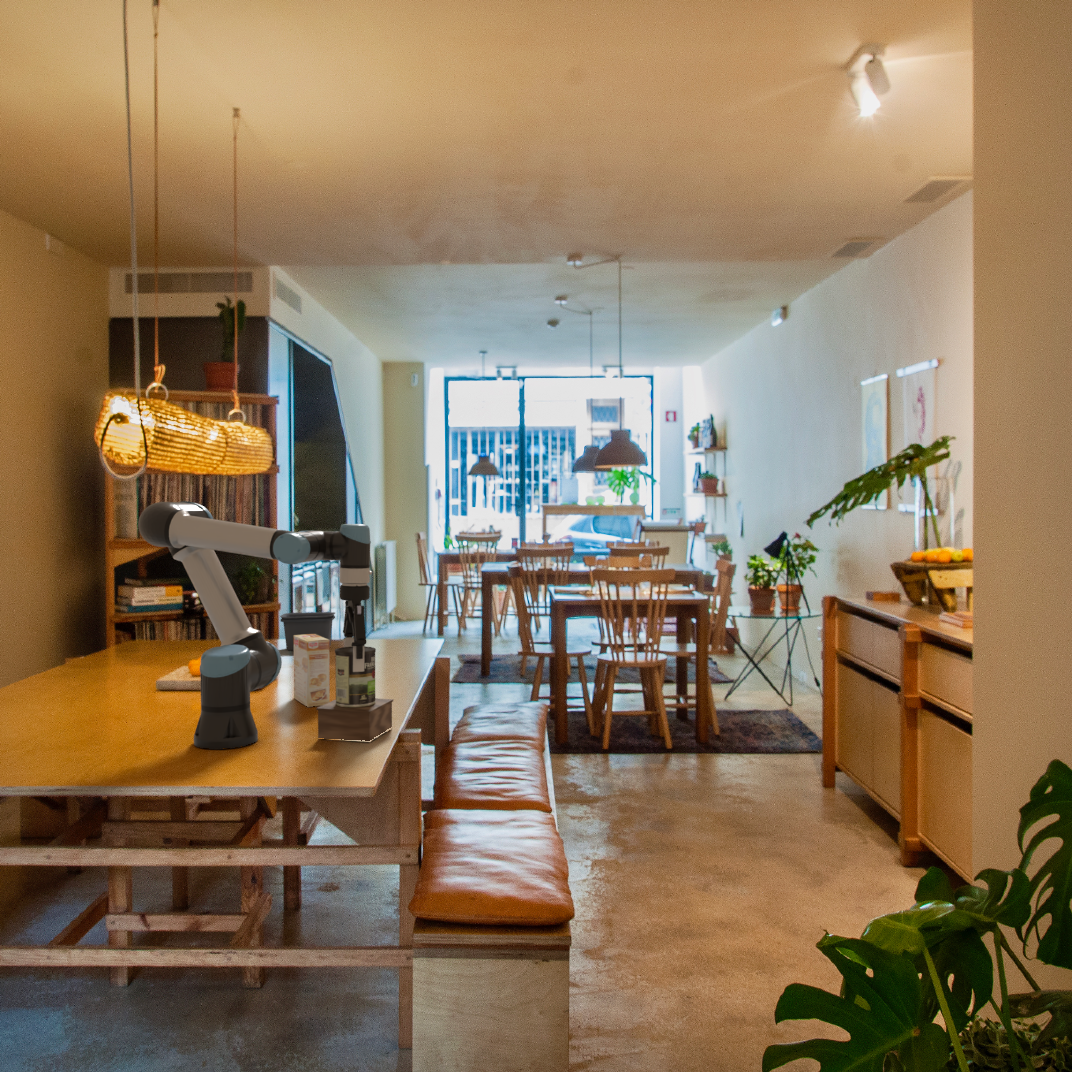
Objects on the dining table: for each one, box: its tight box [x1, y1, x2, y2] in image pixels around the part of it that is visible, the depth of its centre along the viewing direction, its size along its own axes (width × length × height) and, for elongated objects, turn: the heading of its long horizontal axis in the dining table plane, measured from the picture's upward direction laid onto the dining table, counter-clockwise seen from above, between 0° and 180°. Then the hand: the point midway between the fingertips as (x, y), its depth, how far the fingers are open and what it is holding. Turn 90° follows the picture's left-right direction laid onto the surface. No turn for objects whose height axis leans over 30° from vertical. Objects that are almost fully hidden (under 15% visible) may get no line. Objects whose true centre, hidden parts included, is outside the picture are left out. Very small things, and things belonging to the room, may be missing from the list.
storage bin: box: [279, 611, 336, 651], centre depth 379 cm, size 21×16×14 cm
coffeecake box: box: [293, 634, 331, 708], centre depth 277 cm, size 15×7×20 cm, turn 30°
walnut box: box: [315, 697, 394, 741], centre depth 238 cm, size 15×15×8 cm
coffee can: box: [334, 646, 376, 707], centre depth 238 cm, size 10×10×14 cm
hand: (353, 666), depth 238 cm, fingers open, 13 cm apart
